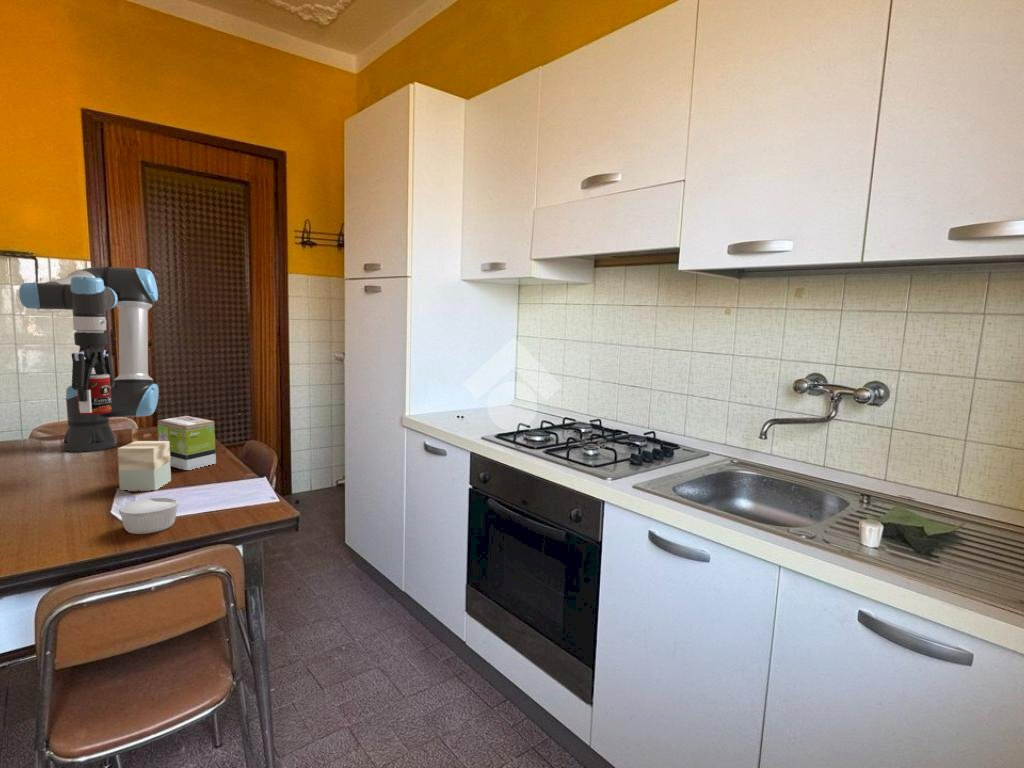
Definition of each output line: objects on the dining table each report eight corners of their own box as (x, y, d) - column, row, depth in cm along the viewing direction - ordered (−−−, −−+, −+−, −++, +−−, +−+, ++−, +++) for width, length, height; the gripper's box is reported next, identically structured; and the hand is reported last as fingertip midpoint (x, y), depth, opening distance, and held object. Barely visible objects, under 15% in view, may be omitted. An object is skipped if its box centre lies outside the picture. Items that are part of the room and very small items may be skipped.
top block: (136, 461, 158) (135, 441, 158) (170, 461, 160) (169, 441, 159) (118, 470, 150) (117, 448, 149) (154, 469, 151) (153, 448, 150)
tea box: (158, 464, 177) (156, 419, 175) (188, 458, 186) (187, 414, 184) (186, 471, 170) (184, 424, 168) (217, 464, 179) (215, 419, 177)
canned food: (94, 415, 156) (92, 377, 155) (71, 413, 158) (69, 375, 156) (118, 411, 164) (116, 374, 162) (96, 409, 165) (94, 372, 164)
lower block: (137, 481, 159) (136, 461, 158) (171, 481, 160) (170, 461, 159) (119, 491, 150) (118, 470, 149) (155, 491, 151) (154, 469, 151)
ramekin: (188, 518, 132) (188, 497, 131) (160, 537, 121) (159, 513, 120) (141, 517, 132) (140, 496, 131) (108, 536, 121) (107, 513, 120)
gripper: (80, 333, 148) (86, 416, 151) (125, 330, 168) (129, 404, 171) (50, 332, 147) (56, 416, 150) (99, 330, 168) (103, 403, 170)
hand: (95, 409), depth 161 cm, fingers closed on canned food, 8 cm apart
